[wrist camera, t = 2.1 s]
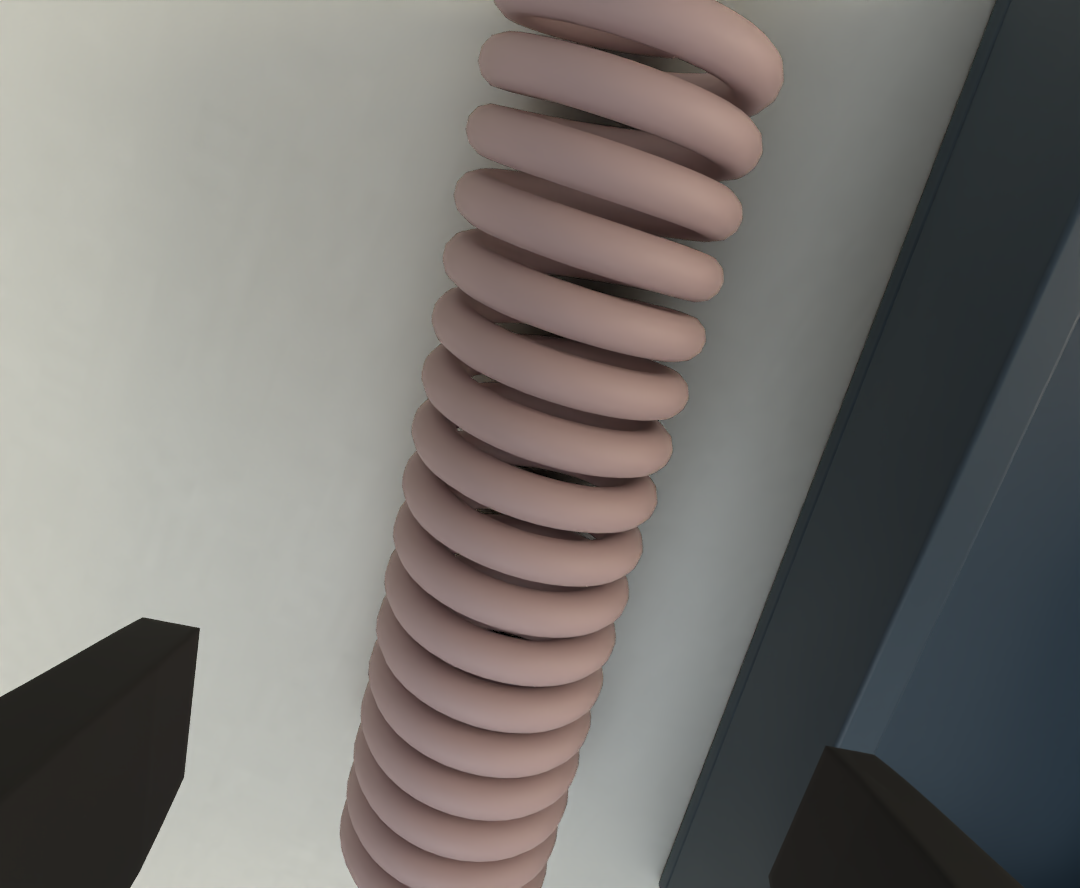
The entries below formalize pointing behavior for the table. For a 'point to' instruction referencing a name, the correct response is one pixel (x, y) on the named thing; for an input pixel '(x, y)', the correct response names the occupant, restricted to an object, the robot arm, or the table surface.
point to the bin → (940, 512)
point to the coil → (544, 427)
